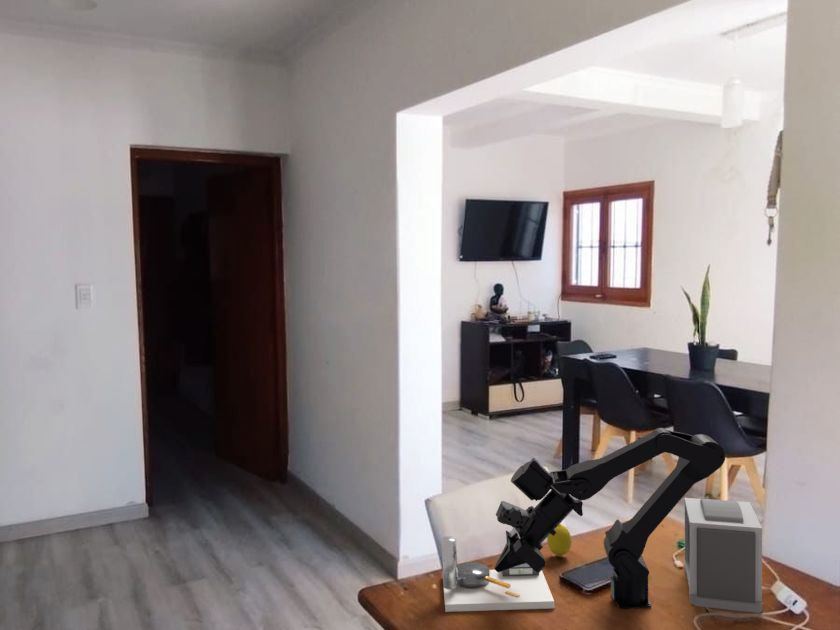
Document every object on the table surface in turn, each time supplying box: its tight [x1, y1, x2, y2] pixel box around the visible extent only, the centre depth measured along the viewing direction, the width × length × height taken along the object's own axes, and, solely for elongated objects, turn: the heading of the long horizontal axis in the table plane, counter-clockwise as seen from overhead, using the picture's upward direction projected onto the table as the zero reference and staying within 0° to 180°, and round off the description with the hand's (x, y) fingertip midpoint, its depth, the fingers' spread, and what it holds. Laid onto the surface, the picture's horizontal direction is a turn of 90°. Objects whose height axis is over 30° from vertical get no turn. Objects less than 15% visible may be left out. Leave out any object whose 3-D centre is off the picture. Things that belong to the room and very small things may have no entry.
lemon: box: [546, 523, 572, 558], centre depth 160 cm, size 6×6×8 cm
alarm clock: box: [684, 497, 763, 614], centre depth 142 cm, size 18×13×18 cm
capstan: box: [441, 535, 511, 589], centre depth 142 cm, size 14×12×11 cm
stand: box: [443, 563, 555, 613], centre depth 144 cm, size 22×15×4 cm
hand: (496, 570), depth 140 cm, fingers closed
